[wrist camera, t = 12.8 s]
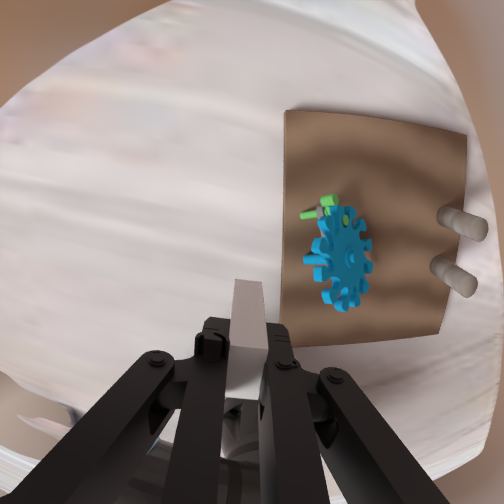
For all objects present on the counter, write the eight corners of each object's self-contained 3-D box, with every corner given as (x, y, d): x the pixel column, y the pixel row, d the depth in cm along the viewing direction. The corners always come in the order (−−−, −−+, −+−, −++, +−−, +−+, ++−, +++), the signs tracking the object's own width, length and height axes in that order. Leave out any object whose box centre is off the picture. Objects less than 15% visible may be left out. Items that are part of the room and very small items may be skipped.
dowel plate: (431, 326, 38) (463, 361, 29) (278, 338, 37) (286, 386, 29) (457, 135, 30) (504, 135, 21) (283, 113, 30) (296, 96, 21)
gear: (383, 288, 31) (337, 331, 25) (338, 287, 36) (285, 324, 29) (365, 185, 30) (311, 200, 23) (319, 194, 34) (258, 210, 28)
